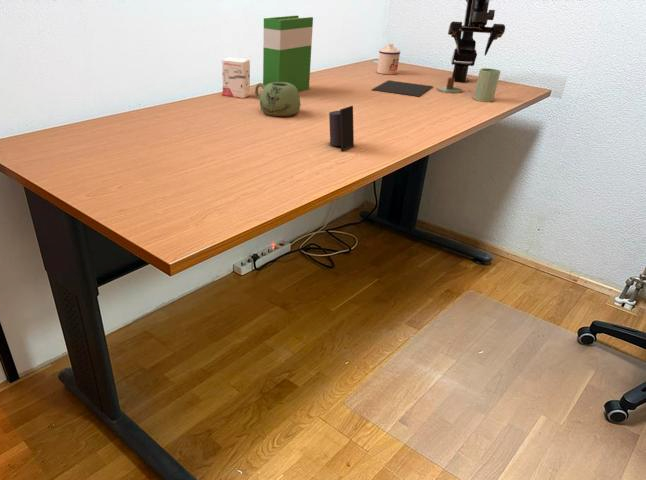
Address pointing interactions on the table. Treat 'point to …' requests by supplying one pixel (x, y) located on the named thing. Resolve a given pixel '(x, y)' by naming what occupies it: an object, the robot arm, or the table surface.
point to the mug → (279, 99)
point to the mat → (403, 88)
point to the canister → (487, 84)
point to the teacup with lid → (388, 60)
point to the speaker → (342, 128)
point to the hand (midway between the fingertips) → (472, 54)
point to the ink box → (236, 77)
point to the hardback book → (287, 50)
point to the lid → (449, 87)
